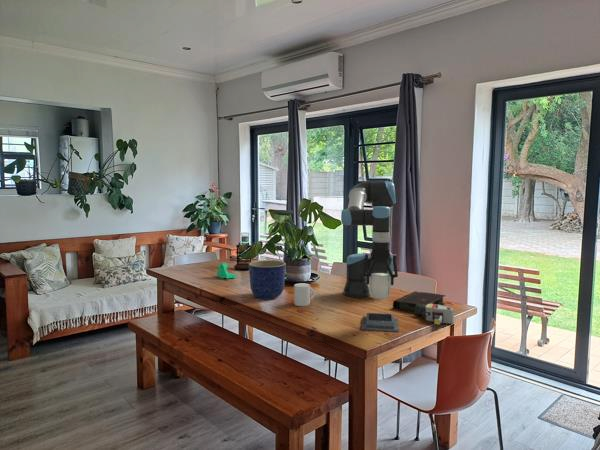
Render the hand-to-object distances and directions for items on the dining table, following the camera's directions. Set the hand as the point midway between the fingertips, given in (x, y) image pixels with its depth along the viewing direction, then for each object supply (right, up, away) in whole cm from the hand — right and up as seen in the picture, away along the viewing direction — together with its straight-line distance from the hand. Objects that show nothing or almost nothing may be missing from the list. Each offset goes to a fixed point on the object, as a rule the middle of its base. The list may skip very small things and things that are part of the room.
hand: (379, 291), depth 196 cm
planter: (-54, -11, +50) cm, 75 cm away
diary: (+26, -13, +31) cm, 43 cm away
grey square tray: (0, -15, +1) cm, 15 cm away
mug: (-33, -12, +37) cm, 51 cm away
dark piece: (-77, -3, +130) cm, 152 cm away
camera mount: (-85, -6, +101) cm, 132 cm away
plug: (0, -2, 0) cm, 2 cm away
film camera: (+24, -15, +6) cm, 29 cm away
